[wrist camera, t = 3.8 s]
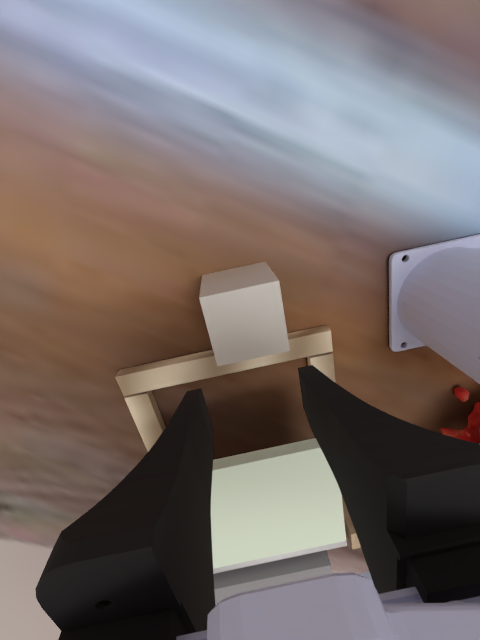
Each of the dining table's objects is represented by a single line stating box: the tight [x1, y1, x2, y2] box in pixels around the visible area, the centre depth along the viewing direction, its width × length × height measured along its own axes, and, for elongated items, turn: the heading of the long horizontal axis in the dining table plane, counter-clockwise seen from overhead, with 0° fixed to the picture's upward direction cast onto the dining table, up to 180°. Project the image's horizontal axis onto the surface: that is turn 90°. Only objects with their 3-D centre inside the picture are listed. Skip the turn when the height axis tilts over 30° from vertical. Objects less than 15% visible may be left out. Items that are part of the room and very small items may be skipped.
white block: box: [199, 262, 290, 366], centre depth 20 cm, size 4×4×5 cm
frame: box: [115, 325, 361, 549], centre depth 24 cm, size 16×20×7 cm
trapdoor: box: [211, 438, 347, 604], centre depth 22 cm, size 12×13×2 cm
